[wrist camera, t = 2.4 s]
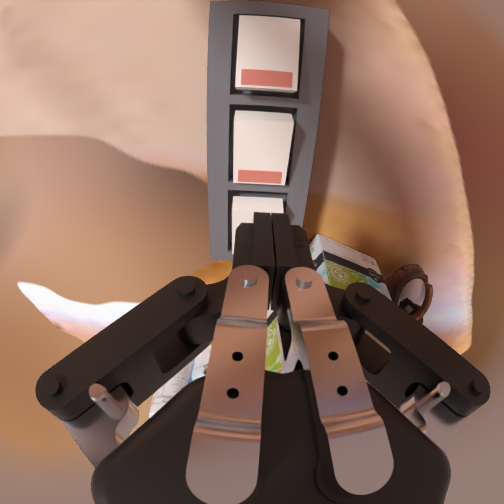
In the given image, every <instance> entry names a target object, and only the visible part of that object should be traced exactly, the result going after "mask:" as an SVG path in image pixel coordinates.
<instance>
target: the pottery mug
mask: <svg viewBox="0 0 504 504" xmlns="http://www.w3.org/2000/svg"><path fill="white" fill-rule="evenodd" d="M416 278H419V279H422V280H423V281H424V283H425V288H426V292H425V298H424V301H423V304H422V306H418V305H417V304H414V303H413V302H412V301H411V300H409V299H408V298H406V299H404V300H403V301H401V302H400V304H399V307H401V308H402V309H403V310H404V311H406V312H407V313H408V314H410V315H411V316H412V317H413V318H415V319H416V320H417V321H419V322H420V323H421V324H423V315H424V314H425V313H426V311H427V310H428V308H429V306H430V304H431V301H432V296H433V288H432V285H429V284H428V276H427V275H425V273H424V271H423V270H422V269H421V268H420V266H418V265H407V266H403V267H401V270H400V269H399V270H397V271H396V272H395V274H394V275H393V276H392V277H391V278H389V279H387V280H384V282H385V284H386V287H387V289H388V291H389V293H390V297H391V299H392V301H393V302H394V303H395V304H397V305H398V298H399V295H400V293H401V291H402V289H403V287H404V286H405V285H406V284H407V283H408V282H409V281H411V280H412V279H416Z"/></svg>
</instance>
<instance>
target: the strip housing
mask: <svg viewBox="0 0 504 504" xmlns="http://www.w3.org/2000/svg"><path fill="white" fill-rule="evenodd" d="M239 15H248V16H268V17H280V18H290V19H298V20H300V41H299V63H298V82H297V91H296V92H294V93H288V92H276V91H262V90H239V89H236V88H235V79H236V61H237V45H238V29H239ZM328 23H329V10H327V9H321V8H315V7H309V6H302V5H295V4H286V3H275V2H261V1H210V13H209V35H208V65H207V174H208V205H209V207H208V208H209V233H210V253H211V260H230V261H233V255H234V254H232V204H233V196H243V197H265V198H282V200H283V210H284V213H287V214H288V215H289V221H290V225H299V226H300V227H301V228H302V225H303V219H304V214H305V208H306V202H307V196H308V189H309V183H310V177H311V170H312V163H313V157H314V150H315V143H316V135H317V128H318V120H319V112H320V104H321V96H322V87H323V78H324V68H325V58H326V47H327V36H328ZM235 110H238V111H261V112H276V113H288V114H292V118H293V121H294V126H293V133H292V140H291V147H290V153H289V160H288V167H287V174H286V180H285V185H270V184H250V183H233V149H234V116H235Z"/></svg>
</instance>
